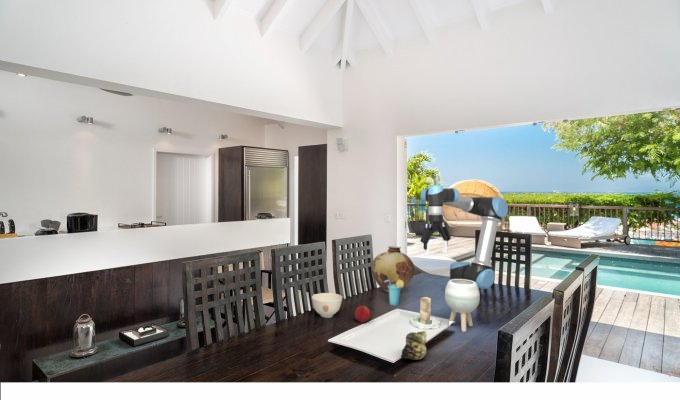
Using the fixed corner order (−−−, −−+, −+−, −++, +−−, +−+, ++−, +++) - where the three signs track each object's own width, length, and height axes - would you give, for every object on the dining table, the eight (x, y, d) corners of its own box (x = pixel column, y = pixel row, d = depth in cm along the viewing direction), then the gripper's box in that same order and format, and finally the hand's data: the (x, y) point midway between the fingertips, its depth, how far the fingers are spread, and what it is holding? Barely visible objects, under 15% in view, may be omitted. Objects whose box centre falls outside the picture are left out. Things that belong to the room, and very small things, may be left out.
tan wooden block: (425, 320, 195) (425, 296, 195) (430, 322, 192) (430, 298, 192) (420, 321, 194) (420, 297, 193) (425, 323, 191) (425, 299, 190)
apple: (360, 325, 190) (360, 309, 190) (352, 320, 197) (352, 304, 197) (373, 323, 194) (373, 307, 193) (364, 318, 201) (365, 303, 201)
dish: (425, 318, 203) (425, 313, 203) (445, 326, 191) (445, 320, 191) (404, 322, 195) (404, 317, 195) (424, 331, 183) (424, 325, 183)
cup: (388, 308, 220) (388, 281, 220) (379, 304, 226) (379, 278, 226) (406, 304, 228) (406, 278, 227) (397, 301, 234) (397, 276, 234)
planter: (479, 324, 194) (479, 279, 193) (479, 335, 179) (480, 286, 178) (445, 320, 199) (446, 276, 199) (442, 331, 184) (443, 283, 183)
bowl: (347, 313, 208) (347, 295, 208) (333, 322, 194) (334, 302, 194) (320, 309, 215) (320, 291, 215) (305, 318, 200) (306, 298, 200)
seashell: (395, 352, 158) (395, 328, 158) (423, 352, 159) (423, 327, 159) (401, 364, 148) (402, 337, 147) (431, 363, 149) (431, 337, 148)
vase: (384, 285, 274) (385, 242, 274) (420, 291, 258) (421, 246, 258) (362, 293, 251) (363, 246, 251) (401, 300, 235) (401, 251, 235)
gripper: (446, 212, 216) (446, 250, 217) (413, 215, 203) (413, 255, 204) (457, 213, 210) (457, 252, 211) (423, 215, 197) (423, 257, 197)
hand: (436, 254), depth 207 cm, fingers open, 13 cm apart
